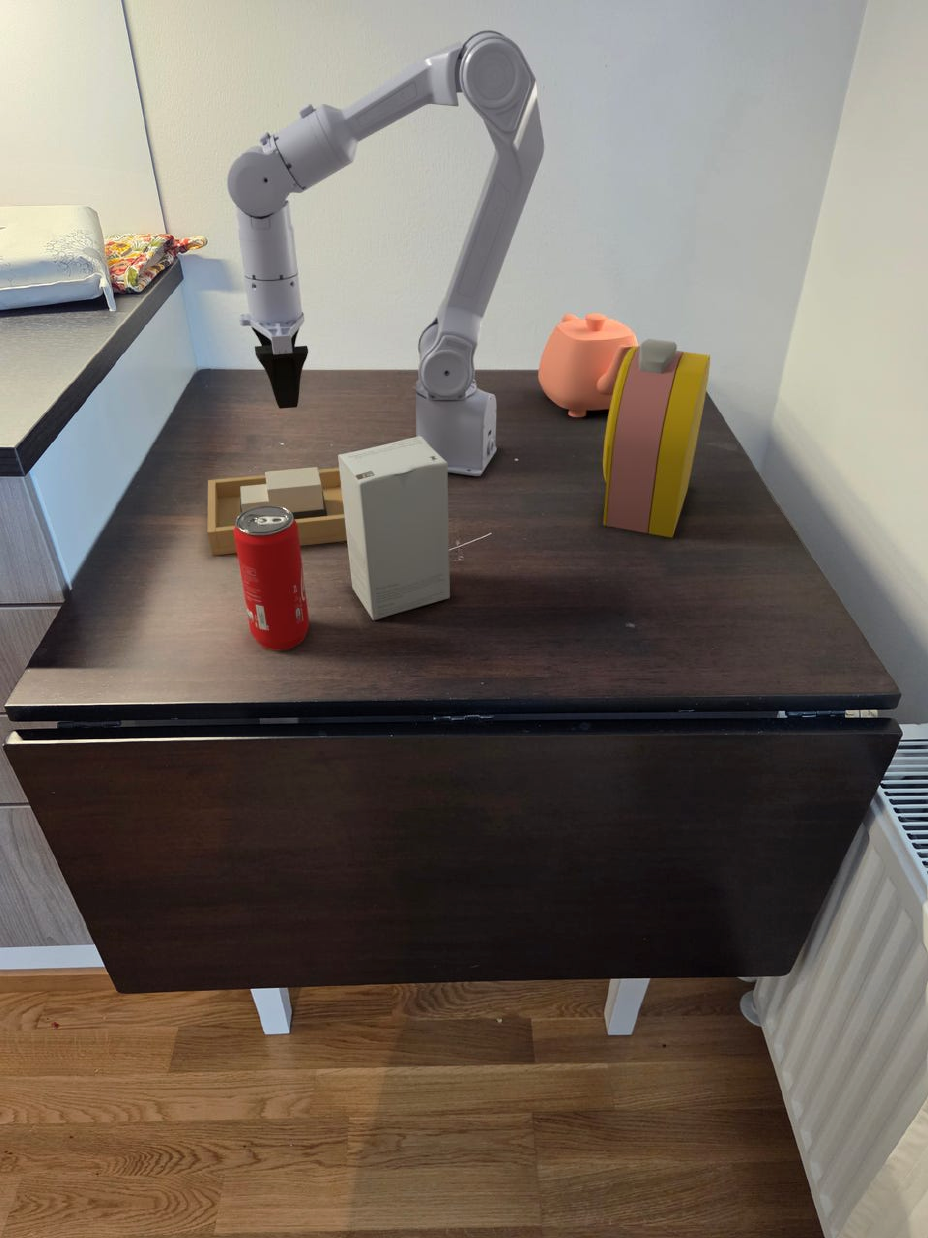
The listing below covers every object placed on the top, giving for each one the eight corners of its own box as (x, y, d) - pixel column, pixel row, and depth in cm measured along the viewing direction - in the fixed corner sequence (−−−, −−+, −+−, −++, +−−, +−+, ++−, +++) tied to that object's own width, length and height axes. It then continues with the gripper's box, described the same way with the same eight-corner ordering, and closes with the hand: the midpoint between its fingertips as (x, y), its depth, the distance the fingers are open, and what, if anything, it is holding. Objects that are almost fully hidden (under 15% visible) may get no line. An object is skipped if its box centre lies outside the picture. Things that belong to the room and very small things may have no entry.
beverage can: (255, 619, 80) (236, 504, 73) (312, 617, 81) (298, 502, 74) (248, 655, 76) (228, 536, 69) (308, 652, 76) (294, 534, 69)
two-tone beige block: (323, 499, 97) (320, 465, 95) (327, 519, 94) (324, 484, 91) (241, 508, 96) (235, 473, 93) (242, 528, 92) (236, 493, 90)
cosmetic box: (426, 570, 87) (424, 432, 78) (452, 602, 83) (452, 459, 74) (347, 591, 84) (335, 449, 75) (369, 625, 80) (359, 478, 71)
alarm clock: (620, 472, 105) (640, 318, 94) (689, 483, 103) (717, 327, 92) (592, 531, 94) (611, 364, 83) (669, 545, 91) (699, 375, 81)
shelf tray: (350, 488, 101) (348, 466, 100) (363, 539, 92) (362, 515, 90) (212, 502, 98) (207, 479, 97) (211, 555, 89) (207, 532, 88)
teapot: (575, 440, 112) (584, 346, 105) (519, 384, 128) (523, 299, 120) (667, 427, 116) (682, 336, 108) (602, 374, 131) (610, 291, 124)
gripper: (231, 258, 99) (247, 374, 107) (235, 294, 88) (253, 421, 96) (293, 255, 100) (305, 370, 108) (306, 290, 89) (318, 416, 97)
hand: (285, 394), depth 102 cm, fingers open, 7 cm apart
